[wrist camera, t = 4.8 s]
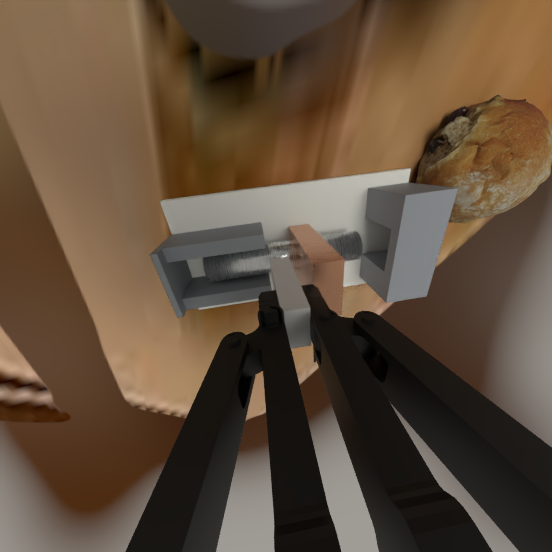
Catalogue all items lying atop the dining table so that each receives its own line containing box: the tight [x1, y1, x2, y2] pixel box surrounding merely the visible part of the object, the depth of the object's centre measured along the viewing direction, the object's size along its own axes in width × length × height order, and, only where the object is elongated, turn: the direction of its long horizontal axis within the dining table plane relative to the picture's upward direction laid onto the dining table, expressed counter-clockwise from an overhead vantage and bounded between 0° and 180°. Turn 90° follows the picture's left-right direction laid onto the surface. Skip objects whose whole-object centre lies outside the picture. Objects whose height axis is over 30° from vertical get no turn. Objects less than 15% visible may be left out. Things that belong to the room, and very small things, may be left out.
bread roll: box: [415, 95, 552, 223], centre depth 19 cm, size 10×10×8 cm
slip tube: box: [203, 224, 363, 315], centre depth 18 cm, size 4×14×9 cm, turn 96°
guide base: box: [150, 168, 458, 318], centre depth 20 cm, size 12×23×6 cm, turn 96°
